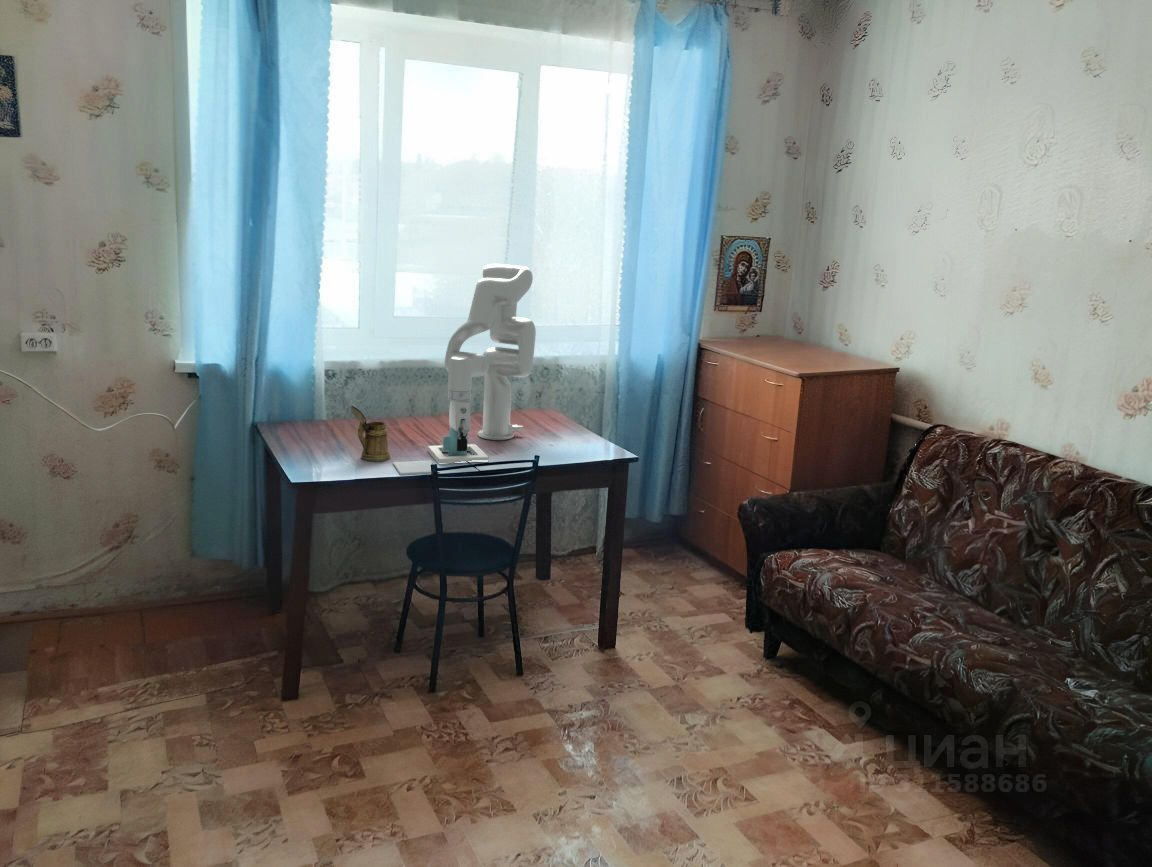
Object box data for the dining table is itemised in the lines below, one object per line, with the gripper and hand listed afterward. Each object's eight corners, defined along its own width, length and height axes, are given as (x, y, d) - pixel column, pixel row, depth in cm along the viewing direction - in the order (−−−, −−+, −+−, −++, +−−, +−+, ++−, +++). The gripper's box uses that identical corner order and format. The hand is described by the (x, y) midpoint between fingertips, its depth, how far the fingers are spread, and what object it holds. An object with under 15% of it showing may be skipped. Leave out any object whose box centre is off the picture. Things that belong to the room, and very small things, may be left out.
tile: (430, 462, 311) (430, 460, 311) (439, 473, 300) (439, 471, 300) (392, 464, 307) (392, 462, 306) (400, 474, 296) (400, 473, 296)
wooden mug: (343, 458, 309) (343, 402, 305) (380, 452, 318) (380, 398, 314) (358, 465, 303) (359, 408, 299) (395, 459, 312) (396, 403, 308)
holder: (475, 449, 329) (475, 444, 329) (488, 462, 315) (488, 456, 314) (427, 451, 323) (428, 445, 323) (439, 464, 309) (439, 459, 308)
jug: (464, 453, 323) (465, 427, 321) (469, 458, 317) (470, 431, 315) (440, 455, 320) (441, 428, 318) (444, 460, 315) (445, 432, 312)
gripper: (478, 400, 308) (476, 453, 312) (464, 389, 323) (462, 439, 327) (454, 401, 305) (453, 454, 309) (441, 389, 321) (440, 440, 325)
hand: (458, 446), depth 318 cm, fingers open, 9 cm apart
